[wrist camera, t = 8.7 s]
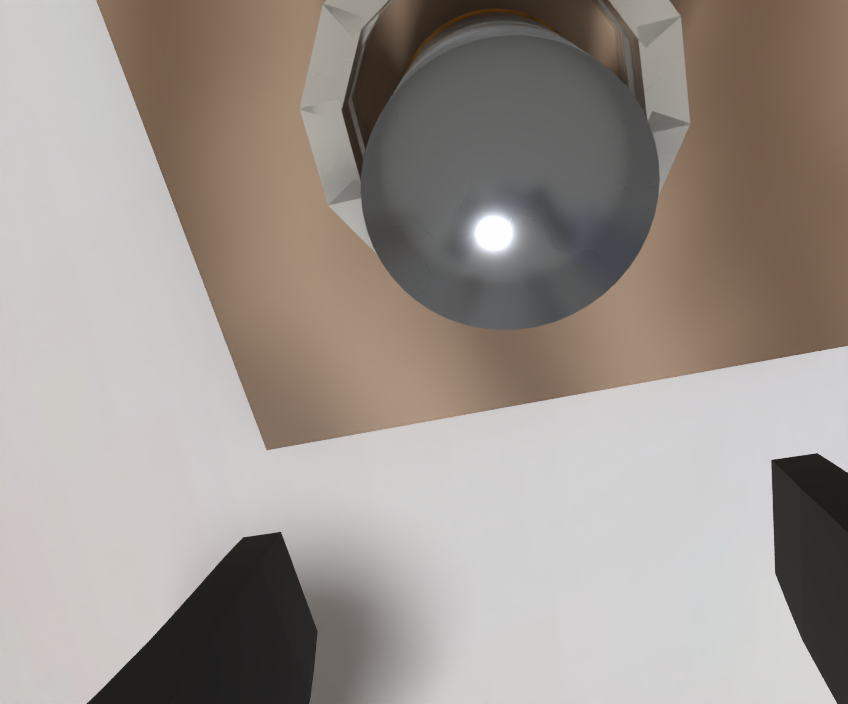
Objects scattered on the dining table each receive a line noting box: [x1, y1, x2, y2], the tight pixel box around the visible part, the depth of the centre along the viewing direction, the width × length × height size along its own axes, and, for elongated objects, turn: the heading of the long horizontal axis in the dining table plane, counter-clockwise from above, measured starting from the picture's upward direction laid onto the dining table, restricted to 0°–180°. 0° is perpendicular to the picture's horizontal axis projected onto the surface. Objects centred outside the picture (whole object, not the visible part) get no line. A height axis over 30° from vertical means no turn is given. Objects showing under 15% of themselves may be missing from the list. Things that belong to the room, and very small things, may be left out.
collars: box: [300, 0, 690, 254], centre depth 16 cm, size 7×7×3 cm
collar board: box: [97, 0, 848, 450], centre depth 18 cm, size 16×16×1 cm
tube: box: [361, 8, 660, 330], centre depth 14 cm, size 4×4×8 cm
